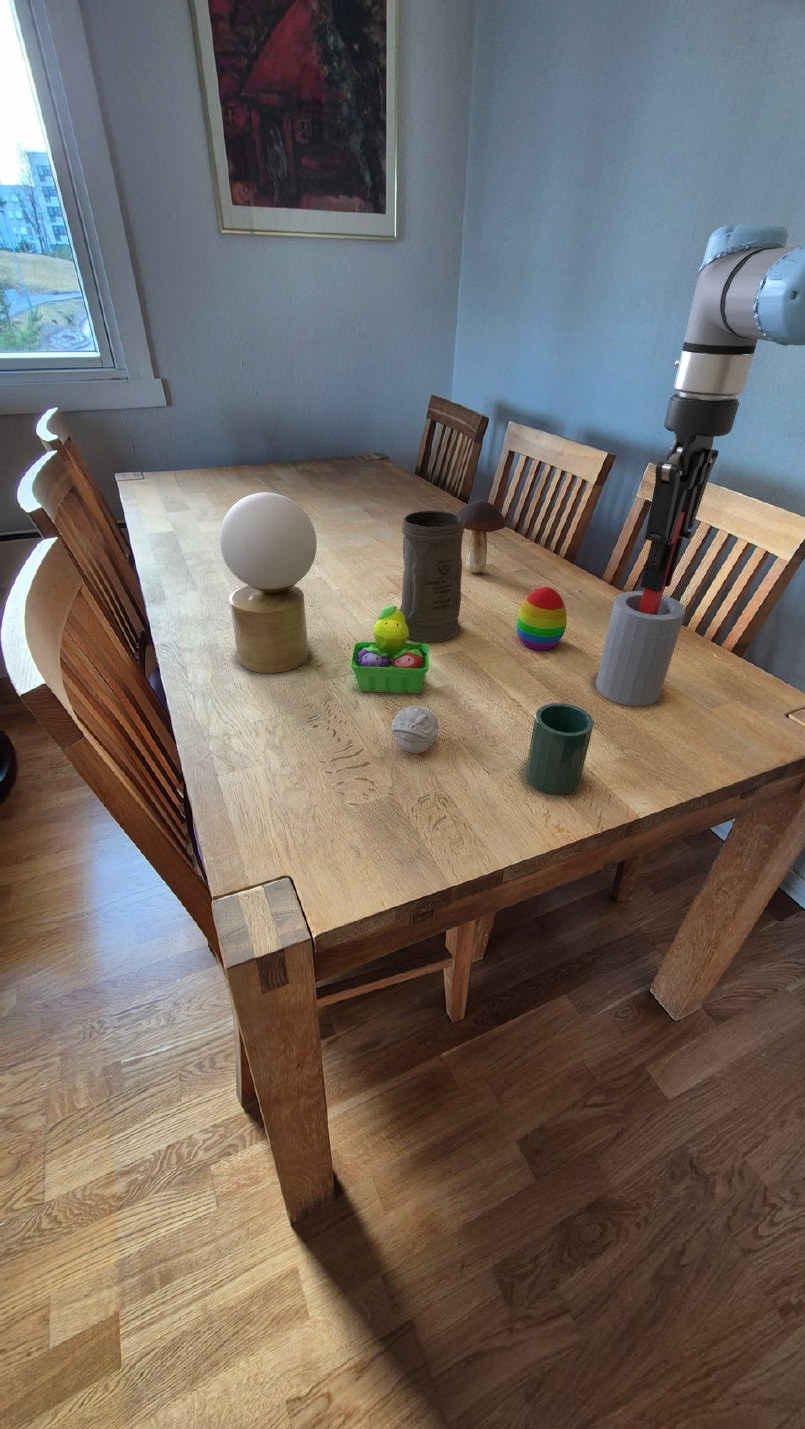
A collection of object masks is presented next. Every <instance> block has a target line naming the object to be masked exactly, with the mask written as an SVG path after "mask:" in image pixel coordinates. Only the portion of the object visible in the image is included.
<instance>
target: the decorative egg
mask: <svg viewBox="0 0 805 1429" xmlns="http://www.w3.org/2000/svg"><path fill="white" fill-rule="evenodd" d="M516 617H517V618H516V631H517V635H518V637H519V640H520V641H521V643H522V644H523V645H524V646H526V648H527V647H528V648H529V649H531V650H537V651H545V650H546V651H547V650H550V649H552V648H554V647H555V646H556V645H558V644H559V642H560V641H561V640H562V638H563V636H564V634H565V631H566V628H567V624H568V614H567V609H566V605H565V603H564V600H563V598H562V597H561V595H560V594H559V593H558V592H557V591H556V590H555V589H554V588H553V587H550V586H542V587H539V588H536V589H535V590H533V591H532V592H531V593H530V594H529V595H528V596H527V597H525V599H524V601H523V602H522V604H521V606H520V608H519V610H518V612H517V616H516Z"/></svg>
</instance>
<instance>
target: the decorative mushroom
mask: <svg viewBox="0 0 805 1429" xmlns="http://www.w3.org/2000/svg"><path fill="white" fill-rule="evenodd" d="M455 514H456V515H458V516H460V517H461V518H462V520H463V527H464V530H465V529H466V530H470V534H469V539H468V543H467V547H466V548H467V549H466V555H465V566H466V569H467V571H468V572H469V573H472V574H480V573H481V572H483V571H484V570H485V569H486V568H485V567H486V565H487V554H488V539H487V538H488V537H487V536H488V535H487V533H491V532H497V531H500V530H502V529H505V528H506V527H507V522H506V519H505V517H504V515H503V514H502V512H501V511H500V510H499V509H498V507H496V506H495V505H494V504H493V503H491V502H488V501H487V500H481V499H479V500H478V499H477V500H474V501H472V502H469V503H467V504H465V505H464V506H462V507H461V508H460V509H458V510H457V511H456V512H455Z"/></svg>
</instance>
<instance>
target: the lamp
mask: <svg viewBox="0 0 805 1429" xmlns="http://www.w3.org/2000/svg"><path fill="white" fill-rule="evenodd" d="M317 544H318V543H317V534H316V530H315V528H314V524H313V522H312V521H311V518H310V517H309V515H308V514H307V512H306V511H305V510H304V509H303V507H301V506H300V505H299V504H298V503H297V502H295V501H294V500H293V499H291V498H289V497H286V496H285V495H282V494H279V493H275V492H257V493H253V494H249V495H247V496H245V497H243V498H241V499H240V500H237V502H236V503H234V504H233V505H232V506H231V507H230V509H228V511H227V513H226V515H225V516H224V518H223V520H222V523H221V527H220V531H219V547H220V552H221V555H222V558H223V560H224V562H225V565H226V566H227V567H228V569H229V570H230V572H231V573H232V574H233V575H234V576H235V577H236V578H237V580H239V581H240V582H242V583H243V584H245V586H242V587H240V588H238V589H236V590H235V591H233V592H232V594H230V596H229V606H230V613H231V619H232V620H231V621H232V627H233V634H234V640H235V647H236V652H237V653H236V654H237V660H238V662H239V664H240V665H241V666H242V667H243V668H245V669H246V670H249V671H251V672H255V673H261V674H277V673H284V672H288V671H292V670H293V669H296V668H298V667H300V666H301V665H303V664H304V663H305V662H306V660H307V659H308V657H309V644H308V643H309V642H308V632H307V617H306V606H305V594H304V592H303V591H302V589H301V588H300V587H298V586H296V585H297V584H298V583H299V582H300V581H301V580H303V579H304V577H305V576H307V574H308V573H309V572H310V570H311V568H312V566H313V564H314V562H315V558H316V554H317Z"/></svg>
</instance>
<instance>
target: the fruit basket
mask: <svg viewBox="0 0 805 1429" xmlns="http://www.w3.org/2000/svg"><path fill="white" fill-rule="evenodd" d="M372 632H373V636H374V641H358V642H356V643H355V644H354V646H353V649H352V650H353V651H352V655H351V659H350V667H351V669H352V671H353V673H354V676H355V679H356V682H357V685H358V689H359V691H360V692H367V693H368V692H376V693H389V692H391V693H396V694H404V693H407V694H420V693H421V690H422V687H423V684H424V681H425V678H426V675H427V673H428V671H429V668H430V645H429V644H427V643H421V642H420V643H418V642H408V641H407V640H408V639H409V638H408V636H409V631H408V627H407V625H406V623H405V617H404V614H403V613H402V612H401V611H400V609H398V608H397V605H391V606H390V605H386V606H384V607H383V608H382V610H381V611H380V614H379V616H378V620H377V621H376V623H375V624H374V625H373V628H372Z"/></svg>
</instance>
